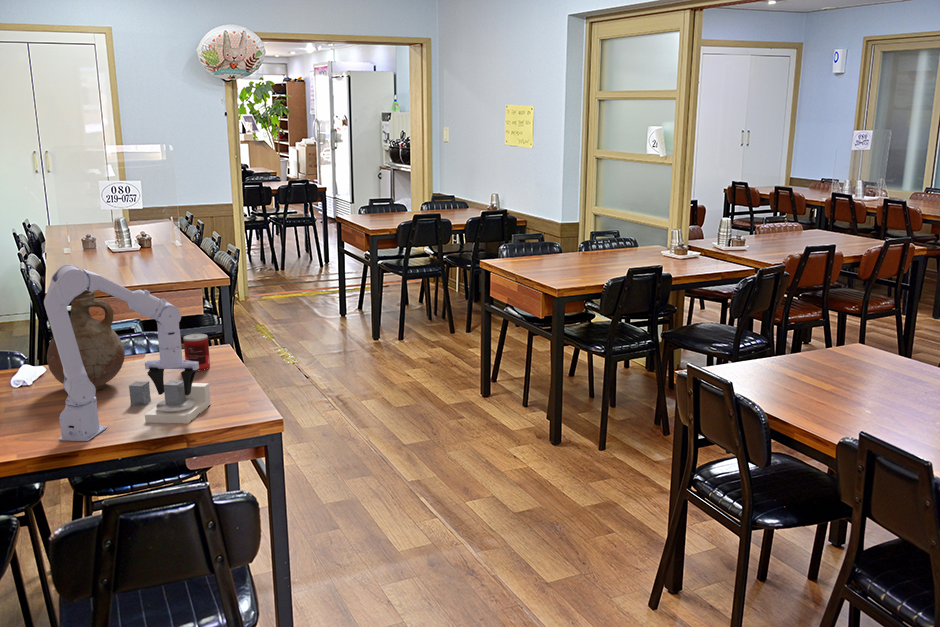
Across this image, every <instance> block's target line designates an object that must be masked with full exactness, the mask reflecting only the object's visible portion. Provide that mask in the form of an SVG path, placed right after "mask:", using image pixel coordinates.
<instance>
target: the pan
mask: <svg viewBox="0 0 940 627" xmlns="http://www.w3.org/2000/svg"><path fill="white" fill-rule="evenodd" d="M194 405H195V401H194V400H193V399H190V398H186V402H184V403H183V404H182V405H180V406H166V404H165V399H164V400H162V401H160V402H158V403H157V404H156V406H155V407H157V410H159V411H163V412H175V411H182V410H186V409H189V408H191V407H193V406H194Z"/></svg>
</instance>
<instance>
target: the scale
mask: <svg viewBox="0 0 940 627" xmlns="http://www.w3.org/2000/svg"><path fill="white" fill-rule="evenodd" d="M210 394H211V393H210V384H209V383H208V382H207V383H205V382H201V383H200V382H192V387H191V393H190V394H189V395H185V396H186V398H190V399H193V400H194V401H195V405H194V406H193V407H191V408H189V409H186V410H182V411H175V412H163V411H159V410H157V407H156V406H155V407H154V408H152V409H150V410H149V411H148V412H146V413H145V414H144V419H145V423H153V424H154V423H156V424H157V423H159V424H161V423H162V424H164V423H165V424H189V423H190V422H192V421H193V420H194V419H195V418H197V417H196V416H197V415H198V414H199V413H200V414H201V413H203V412H204V411H205V410H206V409H208V408H209V407H210V406H211V405H210V404H211V395H210ZM209 405H210V406H209ZM208 406H209V407H208ZM205 408H206V409H205ZM204 409H205V410H204ZM203 410H204V411H203ZM202 411H203V412H202ZM200 414H199V415H200ZM199 415H198V416H199ZM194 417H195V418H194ZM193 418H194V419H193ZM192 419H193V420H192ZM191 420H192V421H191Z"/></svg>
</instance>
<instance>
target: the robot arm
mask: <svg viewBox="0 0 940 627" xmlns="http://www.w3.org/2000/svg"><path fill="white" fill-rule="evenodd" d="M85 290H88V291H94V292H95V291H101V292H103V293H106V294H108V295H110V296H112V297H114V298H117V299H120V300H122V301H124V302H126V303H127V306H128V309H130V310H131V311H134V312H136V313H138V314H140V315H142V316H145V317H147V318H148V319H149V318H150V319H151V320H155V321H156V325H157V339H158V340H157V342H158V351H159V352H158V353H159V359H157V360H147V361H145V362H144V368H145V370H148V371H147V376H148V377H149V378H150V379H151V381H152V383H153V384H154V386H155V388H156V391H157V393H158V395H160V396H161V395H164V384H165V382H164V377H165V376H164V375H165V374H164V373H165V372H164V371H165V370H183V371H181V372H180V375H181V377H182V381H183V382H184V392H185V395H189V394H190V393H191V387H192V383H194V382H193V381H194V378H195V376H196V373H197V372H198V371H197V369H199V362H196V361H188V360H185V359H183V351H182V350H183V349H182V339H181V330H180V322H181V319H182V314H181V312H180V310H179V309H178V307H176V306H175V305H174V304H173V303H172V304H171V303H170V302H169V301H167V300H166V299H165V298H163V297H162V298H158V297H157V296H155V295H152V294H151V291H149V290H147V289H144V290H142V289H137V290H130V289H129V288H126V287H124V286H123V285H121V284H119V283H117V282H114V281H112V280H110V279H108V278H107V277H105V276H102V275H101V274H99V273H96V272H94V271H90V270H87V269H84V268H79V266H76V265H74V264H64V265H62V266H61V267H59V268H58V269H56V272H54V274H52V276H51V279H50V283H49V286H48V289H47V291H46V294H45V296H44V299H43V305H44V308H45V311H46V315H47V316H46V317H47V318H48V322H49V326H50V330H51V332H52V337H53V336H54V339H55V342H56V346H57V349H58V352H59V356H60V359H61V362H62V366H63V372H64V376H65V379H64V383H63V384H62V385H63V390H64V391H65V392H66V393H67V397H66V399H65V407H64V409H63V410H62V411H61V412H60V414H59V427H60V435H61V436H60V437H58V440H59V441H66V442H67V441H68V442H69V441H71V442H72V441H73V442H74V441H78V442H88V441H90V440H91V439H93V438H94V437H96V436H98V435H99V434H101V432H103V431H105V430H106V429H107V428H108V426H106V425H100V420H99V418H100V417H99V411H98V403H97V402H98V401H97V396H96V394H97V393H96V392H97V390H96V389H95V386H94V385H93V384H92V383H91V382H90V380H89V378H88V376H87V373H86V371H85V368H84V366H83V362H82V359H81V356H80V352H79V349H78V345H77V342H76V338H75V335H74V331H73V328H72V325H71V321H70V315H69V310H68V306H69V305H70V304H71V301H72V300H73V299H74V297H76V296H78V295H79V294H81V293H82V292H84V291H85Z"/></svg>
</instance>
